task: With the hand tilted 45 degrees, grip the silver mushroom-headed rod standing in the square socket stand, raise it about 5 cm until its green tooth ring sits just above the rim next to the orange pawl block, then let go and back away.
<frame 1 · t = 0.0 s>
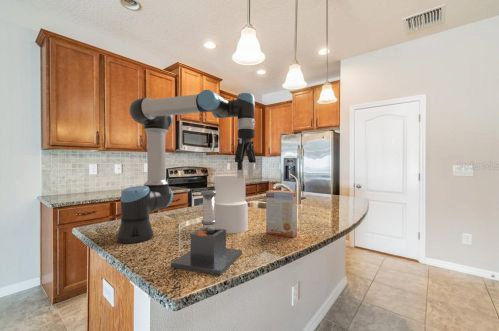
hand: (246, 177, 103), 28 cm above the table, tool pointing down, fingers open, 13 cm apart
silver mushroom-headed rod: (208, 222, 82), point 13 cm above the table, slide at 0.0 cm
cylinder: (231, 229, 122), on the table
cracker box: (281, 234, 113), on the table
square socket stand: (208, 260, 82), on the table
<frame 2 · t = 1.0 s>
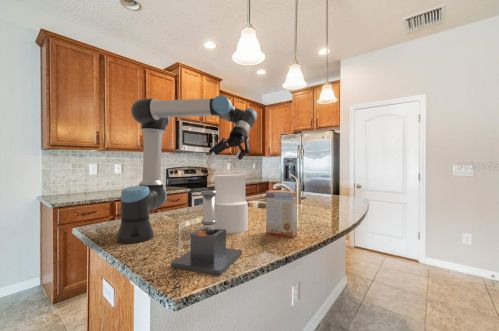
hand: (220, 164, 96), 34 cm above the table, tool tilted 45°, fingers open, 13 cm apart
nothing on the table moved.
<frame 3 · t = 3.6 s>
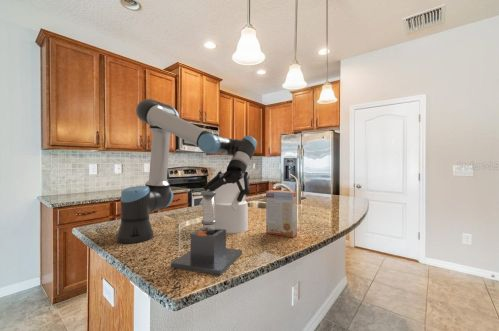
hand: (217, 206, 84), 18 cm above the table, tool tilted 45°, fingers open, 13 cm apart
nothing on the table moved.
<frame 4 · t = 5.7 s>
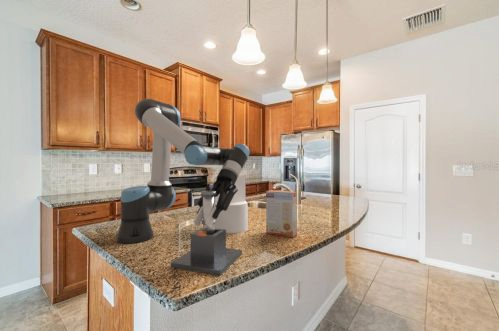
hand: (201, 224, 78), 13 cm above the table, tool tilted 45°, fingers closed on silver mushroom-headed rod, 4 cm apart
silver mushroom-headed rod: (208, 222, 82), point 13 cm above the table, slide at 0.0 cm, touching gripper
everything else where it was.
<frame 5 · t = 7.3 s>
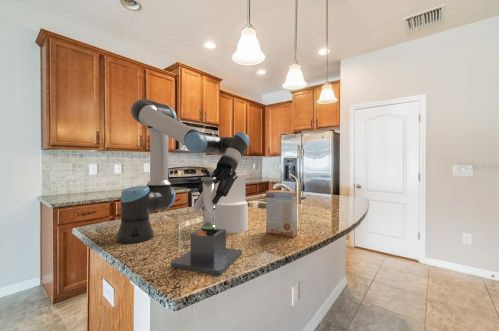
hand: (201, 210, 78), 18 cm above the table, tool tilted 45°, fingers closed on silver mushroom-headed rod, 4 cm apart
silver mushroom-headed rod: (208, 208, 82), point 18 cm above the table, slide at 4.9 cm, touching gripper
everything else where it was.
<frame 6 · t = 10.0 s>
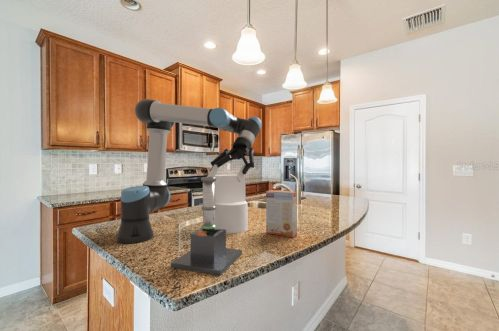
hand: (223, 179, 89), 28 cm above the table, tool tilted 45°, fingers open, 13 cm apart
silver mushroom-headed rod: (208, 208, 82), point 18 cm above the table, slide at 4.9 cm
everything else where it was.
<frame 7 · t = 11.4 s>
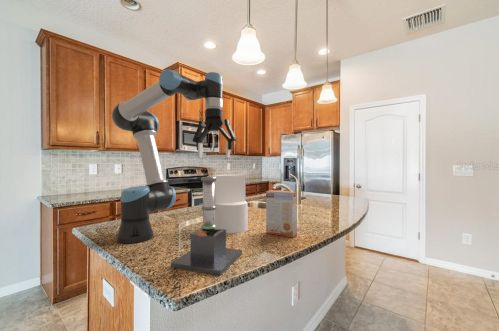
hand: (213, 157, 102), 37 cm above the table, tool pointing down, fingers open, 13 cm apart
nothing on the table moved.
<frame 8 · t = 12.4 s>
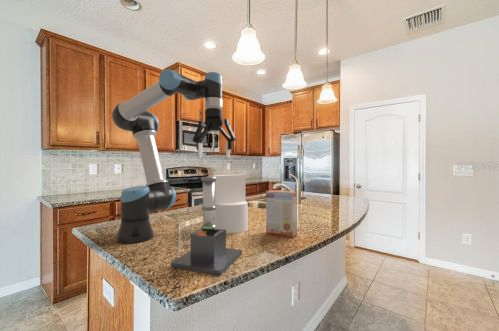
hand: (213, 157, 102), 37 cm above the table, tool pointing down, fingers open, 13 cm apart
nothing on the table moved.
at the end: silver mushroom-headed rod slide at 4.9 cm; the gripper is holding nothing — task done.
